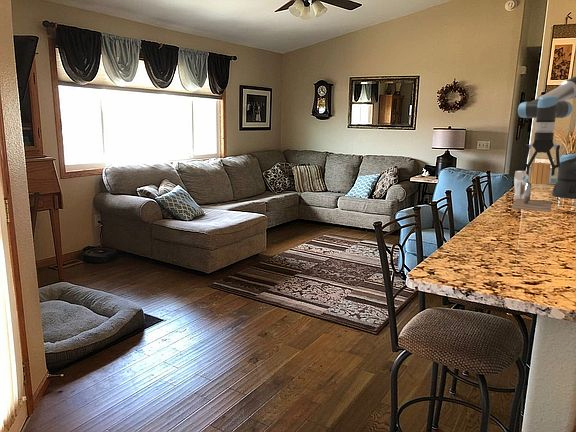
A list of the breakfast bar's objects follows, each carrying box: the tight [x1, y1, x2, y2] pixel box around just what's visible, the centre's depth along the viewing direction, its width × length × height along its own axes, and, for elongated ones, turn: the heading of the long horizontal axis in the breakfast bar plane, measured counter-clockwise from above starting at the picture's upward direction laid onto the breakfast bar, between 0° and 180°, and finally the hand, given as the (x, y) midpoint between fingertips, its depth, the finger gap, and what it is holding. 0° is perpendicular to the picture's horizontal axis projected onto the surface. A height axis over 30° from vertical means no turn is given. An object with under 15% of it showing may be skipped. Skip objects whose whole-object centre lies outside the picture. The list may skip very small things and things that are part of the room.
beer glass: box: [513, 170, 529, 200], centre depth 240 cm, size 7×7×15 cm
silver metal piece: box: [523, 182, 533, 203], centre depth 227 cm, size 11×2×9 cm, turn 149°
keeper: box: [525, 176, 557, 184], centre depth 227 cm, size 14×3×2 cm, turn 59°
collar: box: [530, 162, 552, 185], centre depth 209 cm, size 8×8×9 cm
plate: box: [510, 199, 553, 213], centre depth 220 cm, size 30×16×2 cm, turn 149°
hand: (539, 182), depth 210 cm, fingers closed on collar, 8 cm apart
